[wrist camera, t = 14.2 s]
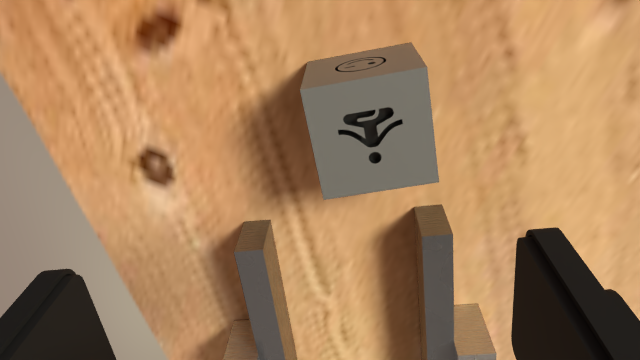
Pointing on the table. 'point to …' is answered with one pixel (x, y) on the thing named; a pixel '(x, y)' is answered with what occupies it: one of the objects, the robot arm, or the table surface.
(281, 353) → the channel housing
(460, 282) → the table surface
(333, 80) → the dice cube
